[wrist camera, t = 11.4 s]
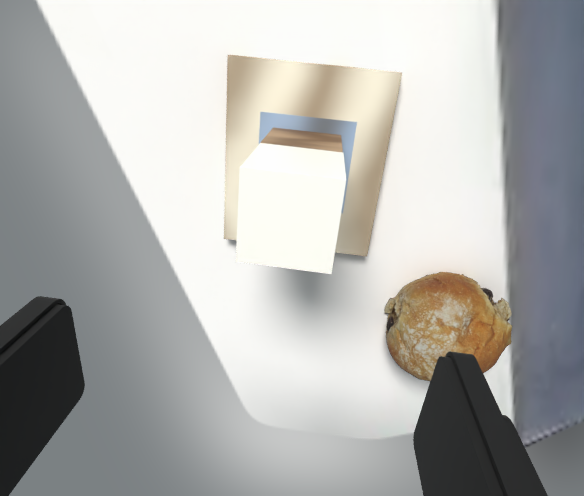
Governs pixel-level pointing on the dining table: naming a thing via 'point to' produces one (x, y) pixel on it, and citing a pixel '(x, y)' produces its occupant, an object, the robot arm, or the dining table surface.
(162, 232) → the dining table surface
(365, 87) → the birch board
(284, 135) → the walnut block
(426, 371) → the bread roll
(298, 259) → the cream block
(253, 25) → the dining table surface
